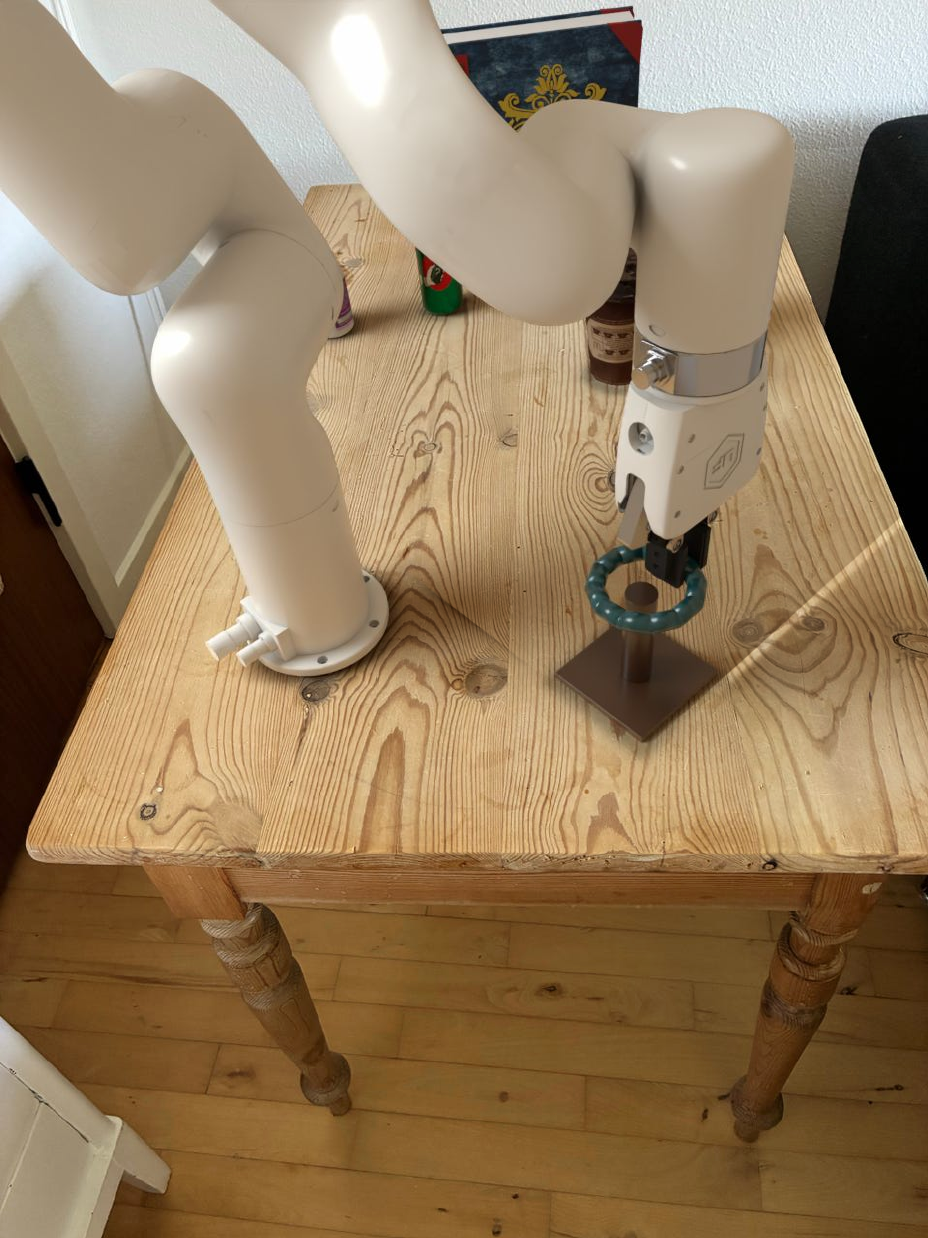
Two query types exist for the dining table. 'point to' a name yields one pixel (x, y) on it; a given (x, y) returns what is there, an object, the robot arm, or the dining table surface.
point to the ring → (637, 620)
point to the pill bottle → (343, 314)
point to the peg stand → (636, 671)
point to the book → (551, 60)
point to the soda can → (438, 287)
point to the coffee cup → (614, 330)
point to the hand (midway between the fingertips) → (675, 567)
